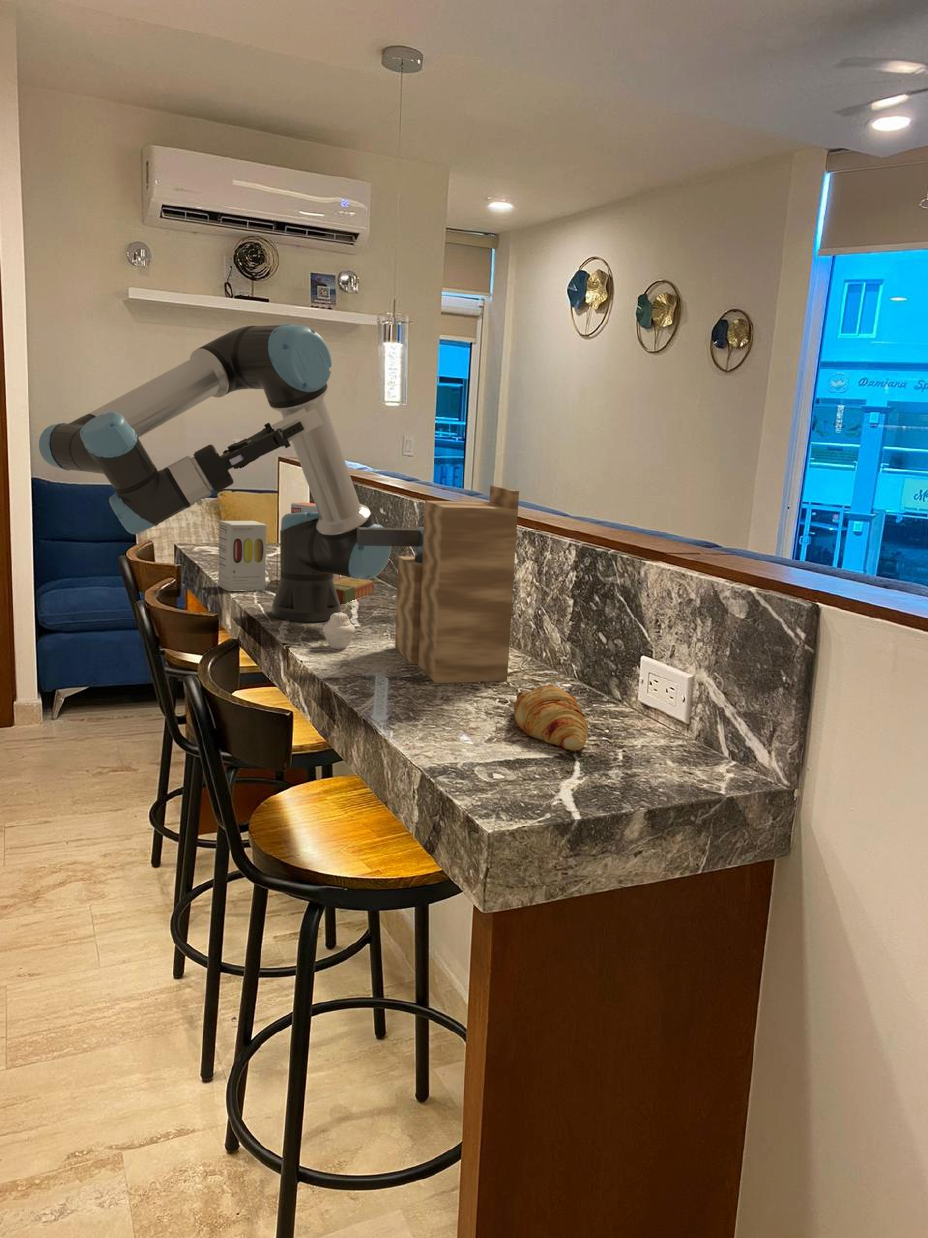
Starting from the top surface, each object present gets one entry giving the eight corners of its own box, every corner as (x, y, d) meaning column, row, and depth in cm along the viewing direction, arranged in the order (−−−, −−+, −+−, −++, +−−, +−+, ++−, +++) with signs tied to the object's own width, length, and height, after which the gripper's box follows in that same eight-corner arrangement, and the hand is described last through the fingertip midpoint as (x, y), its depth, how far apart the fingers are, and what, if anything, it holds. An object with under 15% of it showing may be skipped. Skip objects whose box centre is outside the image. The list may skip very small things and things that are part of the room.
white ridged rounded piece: (321, 643, 184) (321, 608, 182) (352, 643, 185) (353, 608, 184) (324, 651, 178) (325, 615, 176) (356, 650, 179) (357, 615, 178)
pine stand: (395, 647, 184) (401, 477, 177) (463, 645, 188) (471, 479, 181) (430, 683, 160) (438, 488, 153) (507, 680, 164) (519, 491, 157)
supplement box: (229, 592, 230) (229, 524, 226) (217, 586, 237) (217, 520, 234) (266, 590, 235) (267, 523, 232) (253, 584, 242) (253, 519, 239)
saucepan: (353, 556, 176) (354, 524, 175) (459, 557, 182) (460, 527, 181) (362, 565, 167) (363, 531, 166) (473, 566, 173) (475, 533, 171)
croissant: (595, 778, 130) (624, 728, 129) (540, 751, 126) (569, 699, 125) (533, 727, 149) (558, 683, 149) (483, 702, 145) (509, 657, 145)
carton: (373, 596, 237) (374, 579, 236) (344, 607, 222) (344, 589, 221) (344, 592, 240) (344, 576, 239) (313, 602, 225) (313, 585, 224)
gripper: (210, 487, 170) (313, 433, 174) (218, 500, 147) (336, 437, 151) (189, 450, 168) (293, 396, 171) (193, 457, 145) (313, 394, 148)
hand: (313, 415), depth 161 cm, fingers open, 13 cm apart
